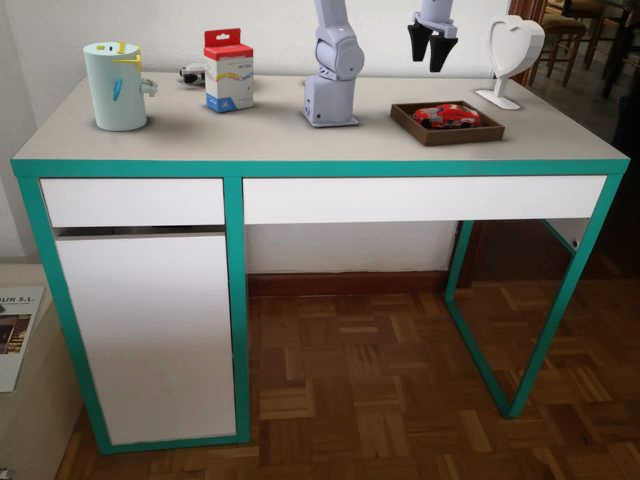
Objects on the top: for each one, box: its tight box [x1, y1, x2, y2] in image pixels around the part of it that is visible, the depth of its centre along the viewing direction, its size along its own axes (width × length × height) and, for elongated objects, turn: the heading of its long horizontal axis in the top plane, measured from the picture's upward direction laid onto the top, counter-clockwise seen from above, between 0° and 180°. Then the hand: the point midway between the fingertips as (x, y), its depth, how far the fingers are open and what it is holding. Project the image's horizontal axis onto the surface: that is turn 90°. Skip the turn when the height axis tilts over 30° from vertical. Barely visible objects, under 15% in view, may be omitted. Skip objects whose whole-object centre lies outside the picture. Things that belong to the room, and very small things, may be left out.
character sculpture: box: [82, 41, 159, 132], centre depth 92 cm, size 20×12×13 cm, turn 17°
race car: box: [413, 104, 480, 129], centre depth 103 cm, size 13×5×4 cm, turn 86°
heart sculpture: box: [475, 14, 546, 110], centre depth 117 cm, size 16×5×18 cm, turn 18°
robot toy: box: [175, 62, 206, 86], centre depth 116 cm, size 12×4×15 cm
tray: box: [389, 100, 506, 147], centre depth 104 cm, size 17×15×3 cm
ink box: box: [203, 27, 254, 114], centre depth 102 cm, size 8×5×15 cm, turn 129°
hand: (426, 66), depth 107 cm, fingers open, 7 cm apart
